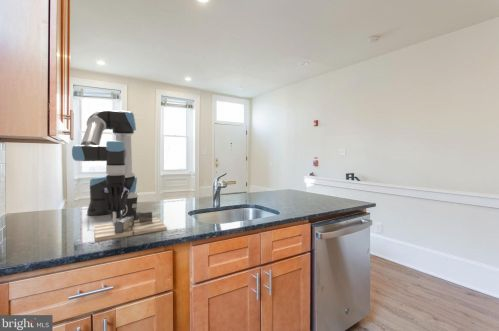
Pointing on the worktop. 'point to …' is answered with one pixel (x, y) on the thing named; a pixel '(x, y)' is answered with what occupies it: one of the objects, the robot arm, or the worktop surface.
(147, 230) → the wooden pallet
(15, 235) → the worktop surface
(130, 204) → the coffee cup
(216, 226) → the worktop surface
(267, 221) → the worktop surface
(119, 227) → the lock bar
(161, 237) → the worktop surface
